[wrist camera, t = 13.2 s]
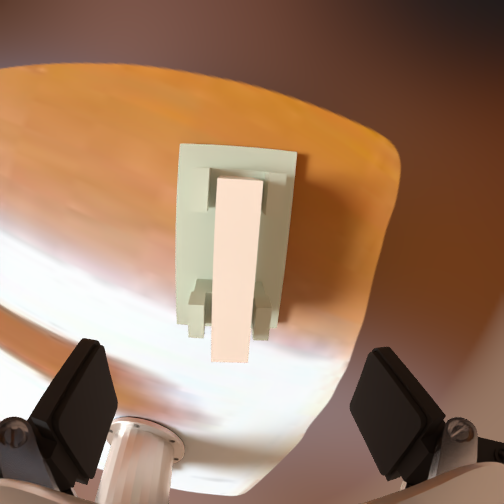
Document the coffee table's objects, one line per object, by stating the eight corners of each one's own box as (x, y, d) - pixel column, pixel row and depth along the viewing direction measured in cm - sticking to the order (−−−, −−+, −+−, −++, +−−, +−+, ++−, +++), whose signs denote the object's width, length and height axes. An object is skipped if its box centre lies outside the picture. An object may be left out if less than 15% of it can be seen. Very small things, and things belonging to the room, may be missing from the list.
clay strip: (220, 175, 21) (217, 178, 15) (253, 177, 21) (263, 181, 15) (213, 318, 24) (211, 361, 19) (242, 320, 24) (247, 362, 19)
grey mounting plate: (274, 322, 29) (286, 359, 23) (178, 318, 28) (168, 354, 22) (294, 152, 25) (314, 148, 19) (182, 144, 24) (167, 137, 17)
